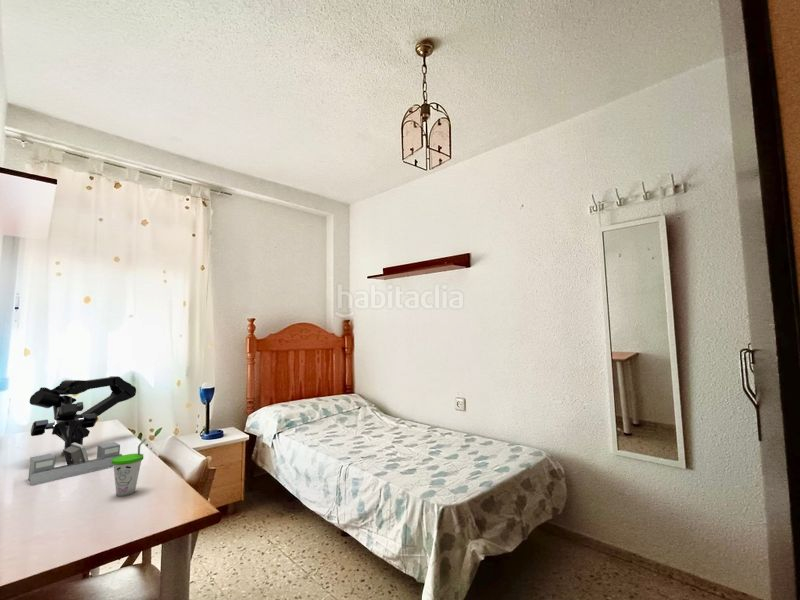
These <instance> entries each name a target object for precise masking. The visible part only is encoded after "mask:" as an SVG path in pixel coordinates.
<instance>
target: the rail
mask: <svg viewBox="0 0 800 600" xmlns="http://www.w3.org/2000/svg"><path fill="white" fill-rule="evenodd" d="M119 456H123V454H121V453H120V454H119V455H115V456H110V457H106V458H98V459H97V458H93V459H88V460H89V461H84V462H79V463H74V464H69V465H67V464H65V465H60V466H56V467H55V466H54V468H53V469H48V470H44V471H39V472H34V473H33V472H31V474H30V475H31V481H29V482H30V483H29V484H30V486H34V485H35V484H36V485H40V484H44V483H48V482H54V481H57V480H61V479H66V478H70V477H71V478H72V477H74V476H79V475H82V474H87V473H91V472H96V471H101V470H105V468H106V469H109V468H108V467H110V468H114V467H113V466H114V465H113V464H112V459H114V458H116V457H119ZM36 485H35V486H36Z"/></svg>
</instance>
